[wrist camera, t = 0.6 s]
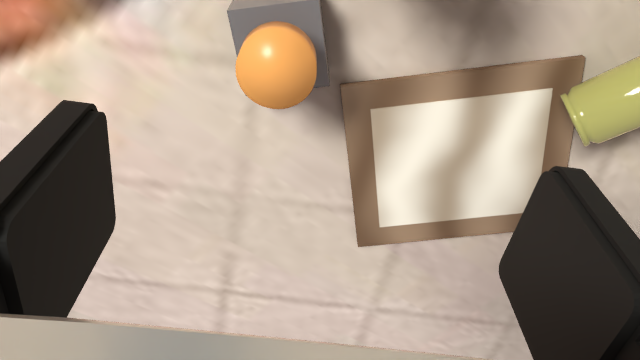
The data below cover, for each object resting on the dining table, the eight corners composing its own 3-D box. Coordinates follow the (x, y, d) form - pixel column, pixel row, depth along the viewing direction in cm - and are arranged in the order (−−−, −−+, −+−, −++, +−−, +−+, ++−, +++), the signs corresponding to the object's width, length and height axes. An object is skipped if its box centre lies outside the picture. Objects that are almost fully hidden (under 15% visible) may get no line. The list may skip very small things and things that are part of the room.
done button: (311, 16, 29) (310, 26, 27) (321, 90, 31) (321, 104, 30) (232, 26, 29) (227, 37, 28) (248, 99, 32) (244, 113, 30)
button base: (318, -13, 33) (318, -2, 30) (328, 69, 36) (329, 85, 33) (233, -2, 33) (226, 10, 31) (250, 78, 36) (245, 95, 34)
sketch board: (582, 55, 35) (586, 58, 35) (554, 223, 43) (557, 227, 43) (340, 84, 36) (340, 87, 36) (357, 243, 44) (358, 247, 44)
